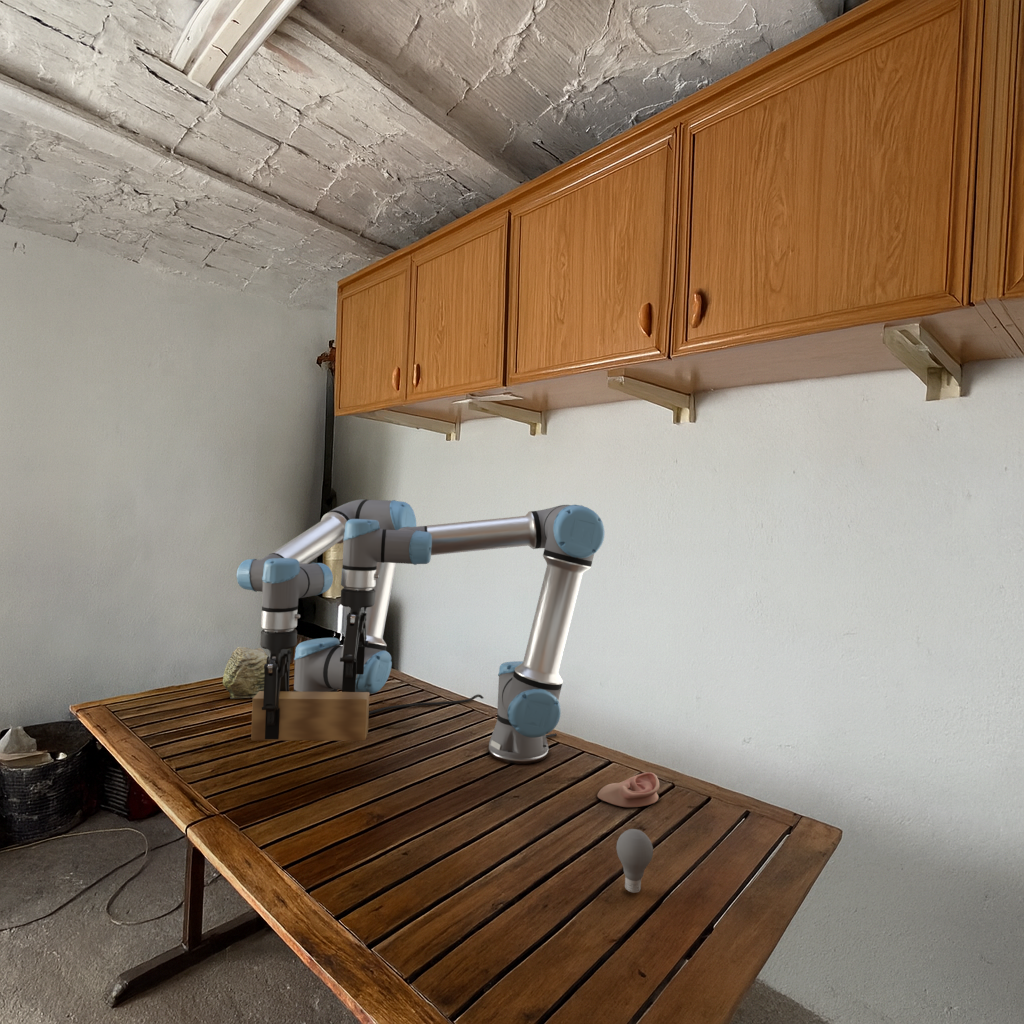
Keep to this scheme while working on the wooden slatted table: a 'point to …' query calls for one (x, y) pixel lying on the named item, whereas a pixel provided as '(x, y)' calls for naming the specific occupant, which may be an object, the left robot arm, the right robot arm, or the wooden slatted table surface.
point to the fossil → (245, 672)
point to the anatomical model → (632, 791)
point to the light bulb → (634, 857)
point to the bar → (315, 716)
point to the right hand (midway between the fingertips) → (353, 682)
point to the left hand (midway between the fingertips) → (275, 733)
